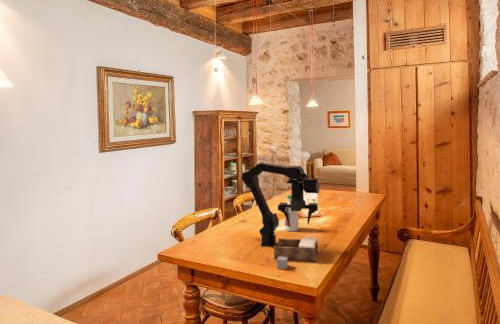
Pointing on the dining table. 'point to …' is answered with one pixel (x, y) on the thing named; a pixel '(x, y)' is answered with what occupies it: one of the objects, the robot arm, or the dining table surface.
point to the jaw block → (282, 262)
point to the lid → (308, 242)
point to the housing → (294, 250)
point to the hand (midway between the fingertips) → (298, 224)
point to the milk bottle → (291, 218)
